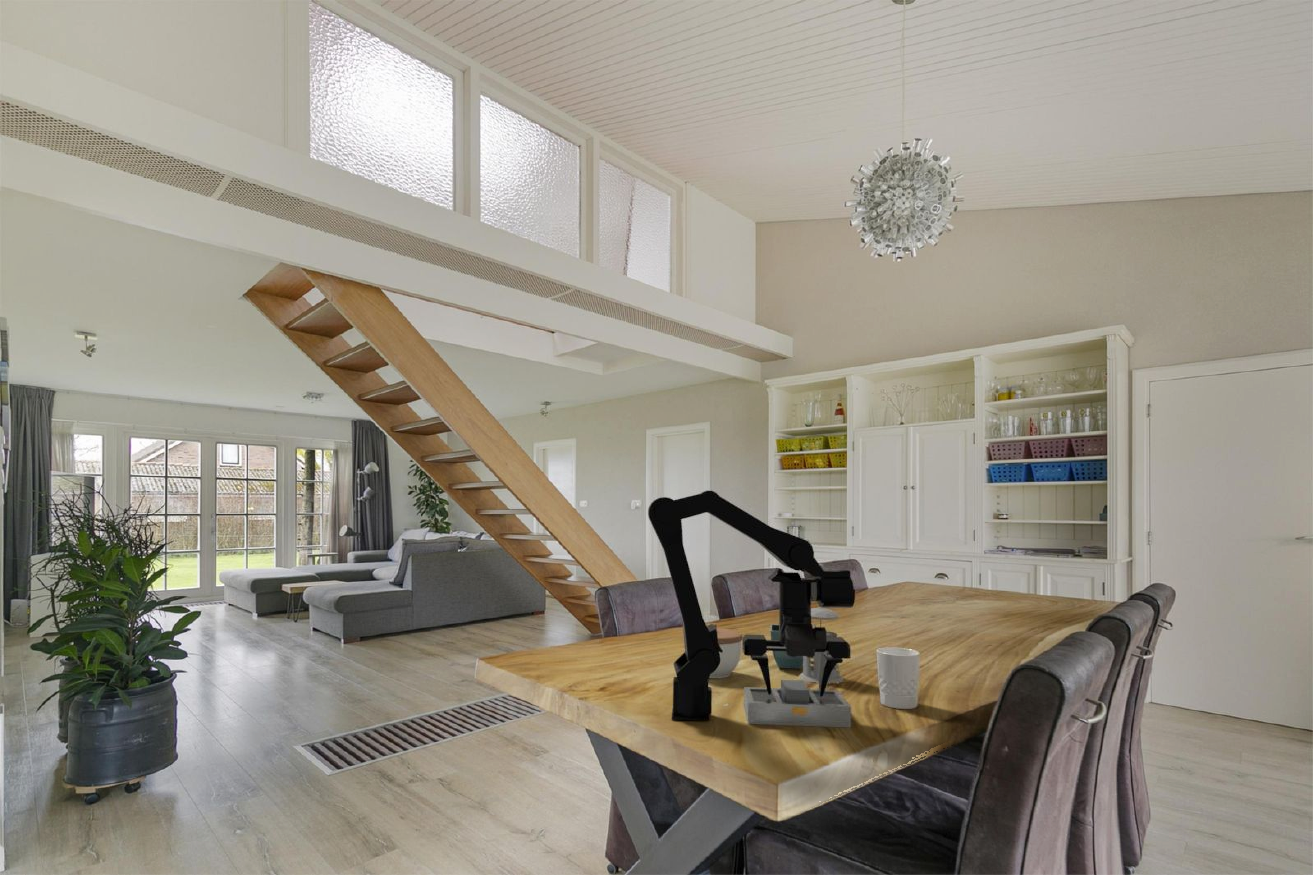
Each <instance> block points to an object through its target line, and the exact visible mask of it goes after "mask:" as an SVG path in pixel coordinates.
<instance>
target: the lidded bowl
mask: <svg viewBox="0 0 1313 875" xmlns="http://www.w3.org/2000/svg"><path fill="white" fill-rule="evenodd" d="M712 624H713V625H714V627H715V628H716V630H717V636H718V643H719V646H720V647H721V649H722V651H723V652H722V653H721V652H719V654H720V664H719V666H718V668H717V669H716V670H715V671H714V672H713V673H711V674H710V676H709V679H725V678H728V677H730V675H731V673H732V672H733V671H735V669H736V668H737V666H738V664H739V663H740V660H741V656H742V639H743V633H742V632H740V631H738V630H734V629H729V628H723V627H722V628H720V627H718V626H717V625H718V623H712Z"/></svg>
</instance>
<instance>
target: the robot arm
mask: <svg viewBox="0 0 1313 875" xmlns="http://www.w3.org/2000/svg"><path fill="white" fill-rule="evenodd" d="M706 513H707V514H710V515H711V516H712V517H714V518H717V520H719V521H721V522H723V523H724V524H726V525H727V526H729V527H731V528H733V529H734V530H735V531H738V532H739V533H741V534H742V535H744V536H746V537H748V538H749V539H751V540H753V541H754V542H755V543H757V544H759V545H760V546H761V547H762V548H764V549H765V551H767V553H768V554H770V556H772V557H773V559H775V560H777V561H778V562H779V563H780V564H782V566H784V567H787V568H789V569H791V570H794V571H795V572H793V571H791V572H785V571H783V570H782V569H781V568H779V567H776V568H775V570H774V571H773V572H772V573H771V574H770V575H768V577H767V580H769V581H770V582H772V583H778V584H779V585H778V586H779V587H778V590H779V591H778V594H779V595H778V598H779V599H778V604H779V605H778V606H779V607H778V609H779V610H778V614H779V616H778V618H779V619H778V625H779V640H771V639H767V638H766V636H765V634H747V633H745V635H743V636H742V648H741V650H742V652H743V656H748V657H750V659H751V660H752V661H755V662H756V661H757V663H758V666H759V668H760V672H761V674H762V677H763V681H764V685H765V688H767V692H768V695H771V688H772V686H771V685H772V684H771V674H770V667H769V657H768V655H767V652H770V651H771V652H773V651H786V653H787V655H788V656H791V657H796V656H807V657H814V656H815V652H824V653H821V660H820V676H819V684H818V690H819V695H820V697H822V696H823V694H824V691H825V690H826V688H827V685H828V684H827V682H828V679H829V676H830V674H831V672H832V670H833V668H834V667H835V666H836V664H842V663H843V661H844V660H845V659H847V660H848V659H851V645H850V644H849V643H848V641H846V640H845V639H844V638H843V637H841V636H837V637H826V632H827V629H826V627H825V626H821V627H820V626H816V627H815V626H813V624H812V619H811V609H812V600H813V602H817V604H818V607H823V608H838V609H839V608H841V609H842V608H843V609H845V608H847V609H851V608H853V607H854V604H855V601H856V589H854V583H853V579H852V578H851V571H850V570H848V569H836V570H831V569H830V570H829V569H828V570H825V569H822V568H821V566H820V565H819V564H820V563H819V562H818V560H816V558H815V552H814V547H813V545H812V544H811V542H809V541H808V540H806V539H804V538H801V537H799V536H796V535H794V534H791V533H788V532H785V531H783V530H780V529H777V528H774V527H772V526H770V525H769V524H767V523H766V522H763V521H761V520H760V519H758V518H756V517H755V516H753V515H752V514H751V513H748V512H746V511H745V510H743V509H742V508H740V507H738V506H737V505H735V504H733V503H731V502H730V501H728V500H726V499H725V498H724V497H722V496H720V495H719V494H718V493H717V492H716V491H714V490H704V491H702V492H700V493H698V494H697V493H696V494H694V495H688V496H685V497H681V498H677V499H672V498H671V497H667V496H666V497H665V496H664V497H663V496H662V497H658V498H656V499H654V500H653V501H652V502H650V504H649V506H648V509H647V515H648V519H649V523H650V525H651V526H652V529H653V530H654V532H655V535H656V537H657V539H658V541H659V542H660V545H661V547H662V551H663V554H664V556H665V561H666V564H667V568H668V571H669V575H670V579H671V581H672V586H673V589H674V594H675V597H676V598H675V599H676V600H677V605H678V609H679V612H680V615H681V619H682V630H683V642H684V645H683V646H684V652H683V653H682V654H681V655H680V656H679V657H678V658H676V660H675V661H674V662H673V668H674V671H675V675H676V676H673V680H672V681H673V682H672V684H673V685H672V708H671V709H672V711H671V719H672V720H681V721H682V720H683V721H704V722H707V721H710V716H711V715H712V710H713V709H712V700H713V696H712V694H713V691H712V687H711V686H709V679H710V678H709V676H710V674H711V673H713V672H714V671H715V670H716V669H717V668H718V666H719V664H720V654H719V652H721V653H722V652H723V651H722V649H721V647H720V646H719V643H718V636H717V630H716V628H715V627H714V625H713V624H714V623H710V624H708V625H707V624H706V621H705V620H704V617H703V614H702V609H701V606H700V602H699V599H698V595H697V592H696V587H695V585H694V580H693V577H692V573H691V569H690V565H689V561H688V558H687V555H686V551H685V548H684V547H685V546H684V541H683V540H684V539H683V523H682V520H683V519H688V518H692V517H695V516H698V515H701V514H706ZM796 571H797V572H796ZM798 571H799V572H800V571H801V572H802V573H803V574H804V573H805V574H807V575H810V576H811V577H801V575H800V573H799V572H798ZM812 626H813V627H812ZM784 644H785V646H784Z"/></svg>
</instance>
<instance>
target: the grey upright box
mask: <svg viewBox="0 0 1313 875" xmlns="http://www.w3.org/2000/svg"><path fill="white" fill-rule="evenodd" d="M780 688H781V700H782V702H783V703H810V699H809V689H810V688H808V686H807V685H806V683H805V681H803V680H801V679H800V680H799V679H798V680H797V679H796V680H795V679H780Z"/></svg>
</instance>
